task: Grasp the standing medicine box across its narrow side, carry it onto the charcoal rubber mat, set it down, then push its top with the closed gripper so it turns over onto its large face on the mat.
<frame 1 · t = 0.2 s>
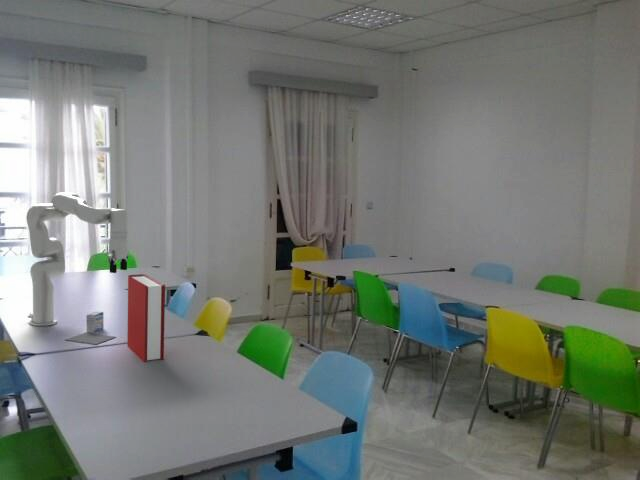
hand: (118, 271, 284), 30 cm above the table, fingers open, 9 cm apart
medicine box: (95, 331, 291), on the table
book: (144, 352, 259), on the table
charcoal rubber mat: (90, 338, 276), on the table
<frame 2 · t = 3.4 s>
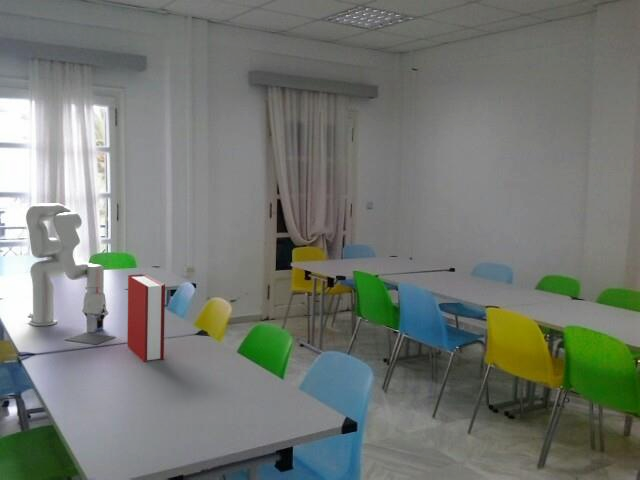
hand: (95, 326, 291), 2 cm above the table, fingers closed on medicine box, 4 cm apart
medicine box: (95, 331, 291), on the table, touching gripper
everything else where it was.
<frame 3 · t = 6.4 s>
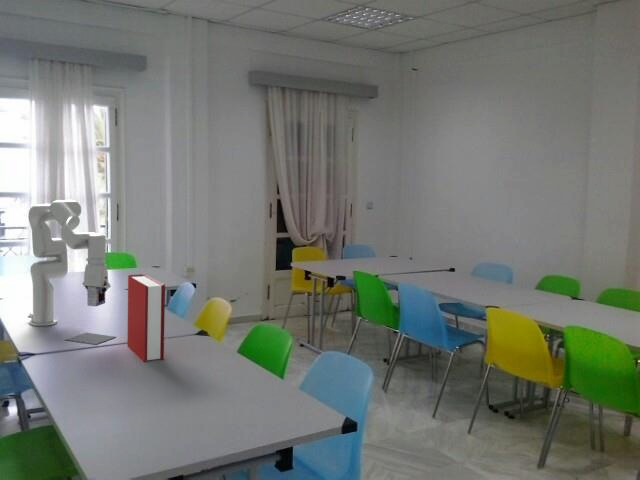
hand: (96, 300, 274), 18 cm above the table, fingers closed on medicine box, 4 cm apart
medicine box: (96, 305, 274), point 16 cm above the table, touching gripper
everything else where it was.
when the fingers open (3 cm above the table, at t = 9.4 s): medicine box stays where it is, resting on charcoal rubber mat.
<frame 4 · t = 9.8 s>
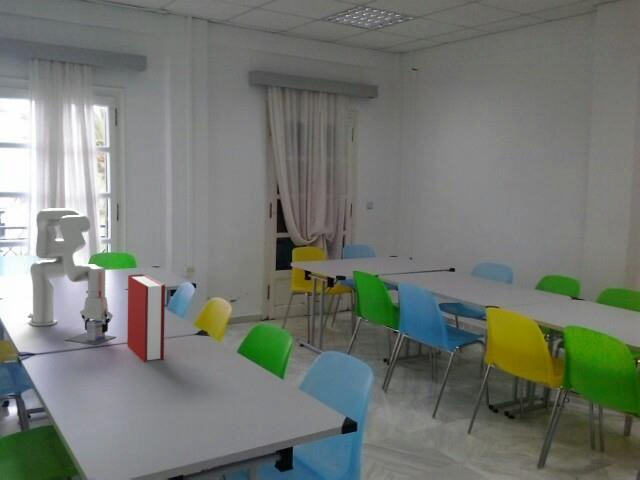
hand: (96, 330, 275), 4 cm above the table, fingers open, 9 cm apart
medicine box: (95, 339, 276), resting on charcoal rubber mat
everything else where it was.
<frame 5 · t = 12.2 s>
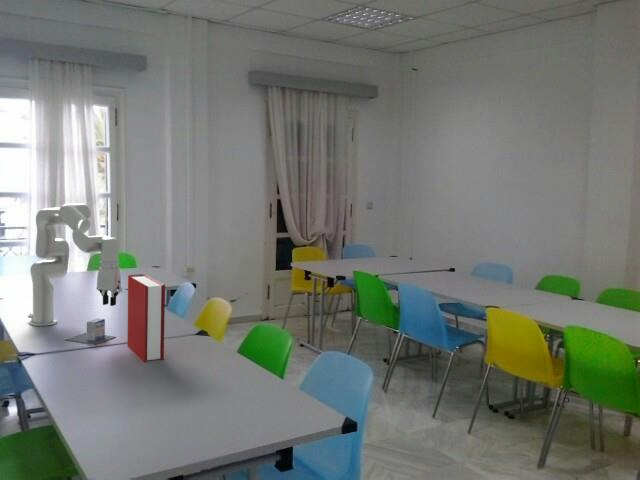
hand: (109, 304, 272), 17 cm above the table, fingers open, 3 cm apart
nothing on the table moved.
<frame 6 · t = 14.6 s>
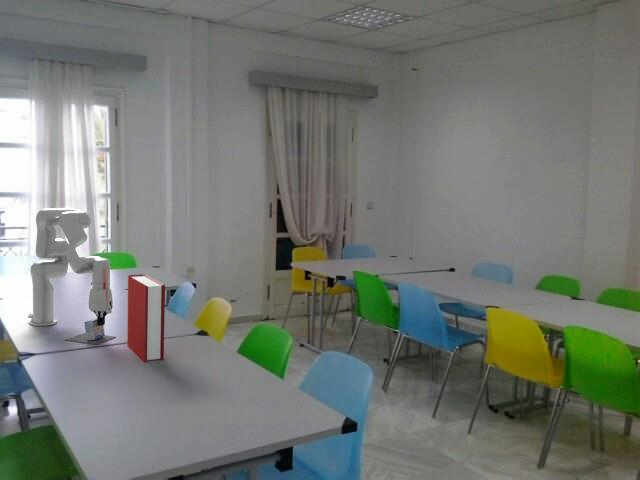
hand: (101, 325, 274), 7 cm above the table, fingers closed
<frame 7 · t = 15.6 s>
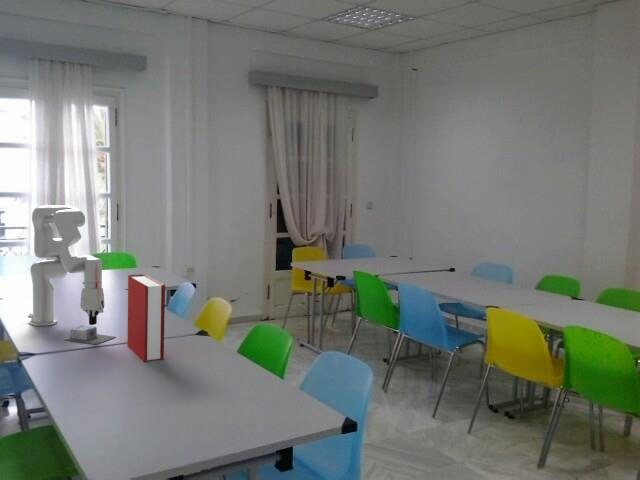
hand: (92, 324, 275), 7 cm above the table, fingers closed
medicine box: (92, 333, 276), point 3 cm above the table, touching charcoal rubber mat
everything else where it was.
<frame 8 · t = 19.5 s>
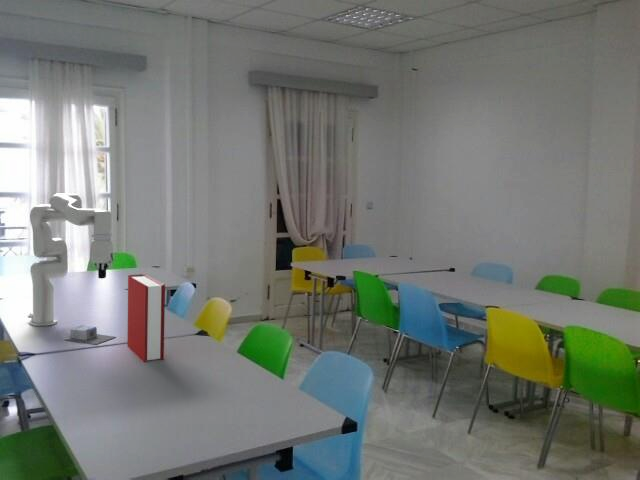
hand: (102, 277, 272), 29 cm above the table, fingers closed
nothing on the table moved.
at the end: medicine box tilted 89°; medicine box inside the target area (0.3 cm from its centre), point 2.5 cm above the table; the gripper is holding nothing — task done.
